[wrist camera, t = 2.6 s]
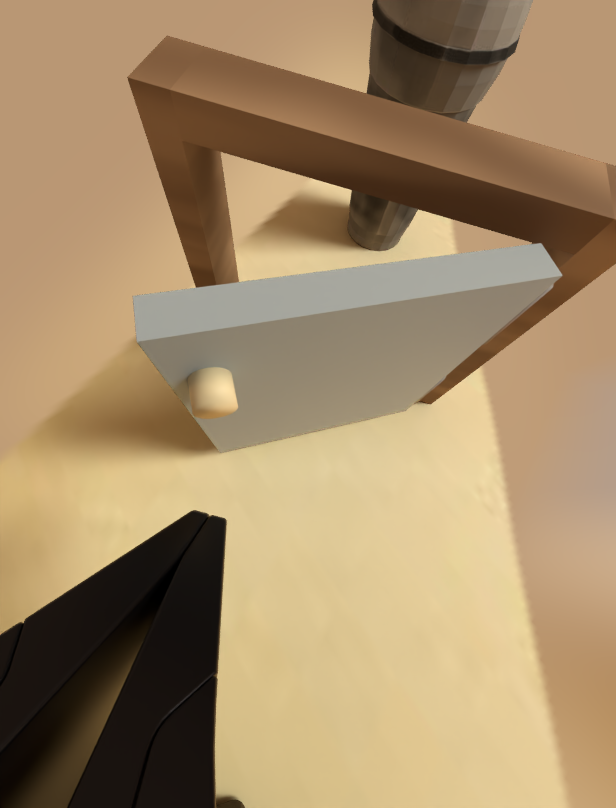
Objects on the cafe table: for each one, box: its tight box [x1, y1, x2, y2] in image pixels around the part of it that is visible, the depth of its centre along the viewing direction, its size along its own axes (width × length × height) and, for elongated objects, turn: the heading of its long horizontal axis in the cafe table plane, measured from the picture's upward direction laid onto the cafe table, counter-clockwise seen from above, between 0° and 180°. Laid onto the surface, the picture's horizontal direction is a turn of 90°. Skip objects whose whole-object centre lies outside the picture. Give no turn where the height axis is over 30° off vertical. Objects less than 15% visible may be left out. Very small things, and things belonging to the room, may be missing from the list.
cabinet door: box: [133, 243, 563, 453], centre depth 13 cm, size 2×12×11 cm, turn 104°
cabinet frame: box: [127, 36, 616, 404], centre depth 15 cm, size 2×15×13 cm, turn 74°
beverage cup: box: [348, 0, 533, 251], centre depth 16 cm, size 7×7×20 cm
